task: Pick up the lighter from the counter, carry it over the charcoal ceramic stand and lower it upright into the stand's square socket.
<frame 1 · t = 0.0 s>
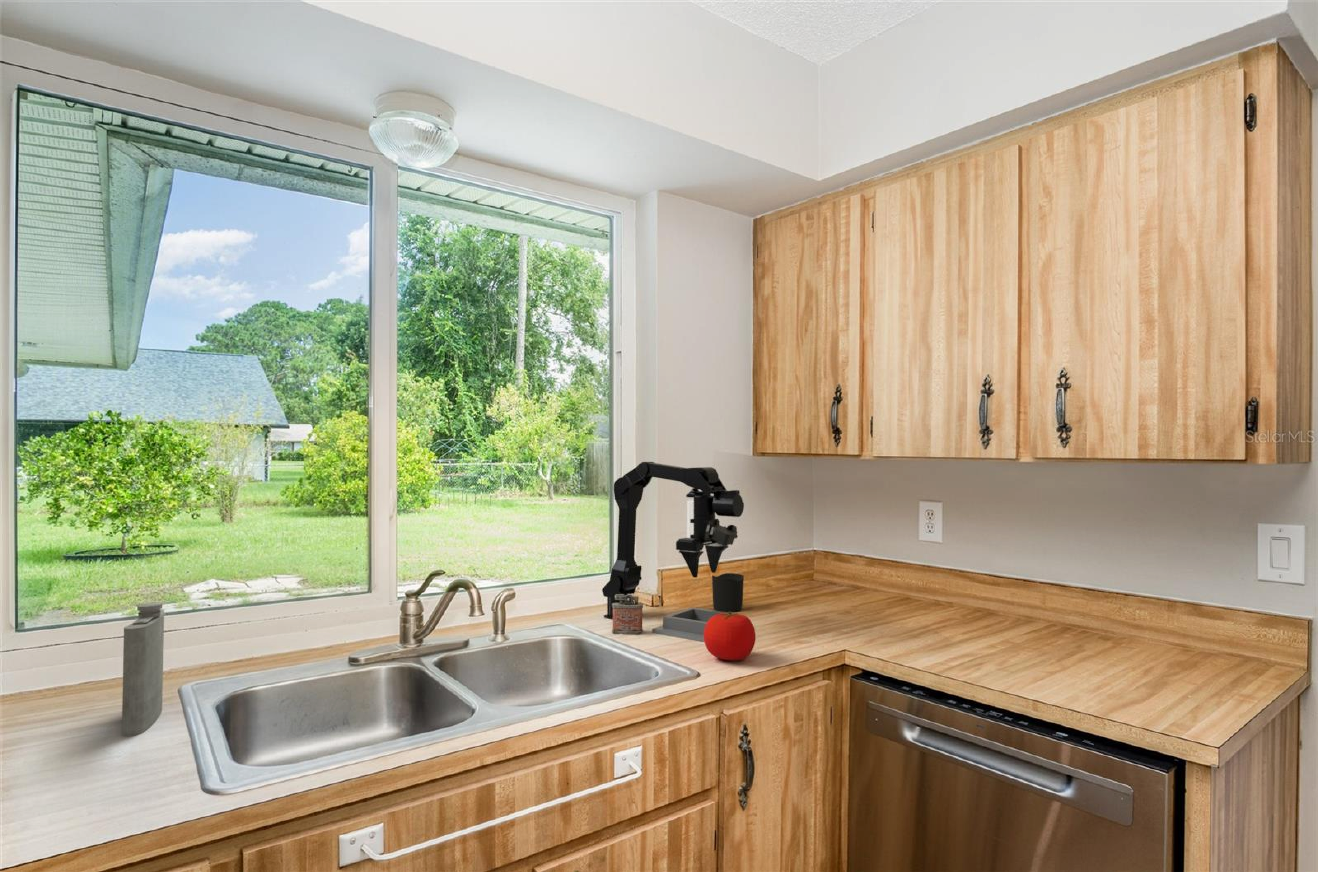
hand: (704, 574, 187), 15 cm above the worktop, tool pointing down, fingers open, 9 cm apart
tomato: (729, 659, 162), on the worktop
pen holder: (727, 609, 213), on the worktop
hip flask: (146, 720, 124), on the worktop
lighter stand: (700, 630, 187), on the worktop
lighter: (627, 633, 185), on the worktop
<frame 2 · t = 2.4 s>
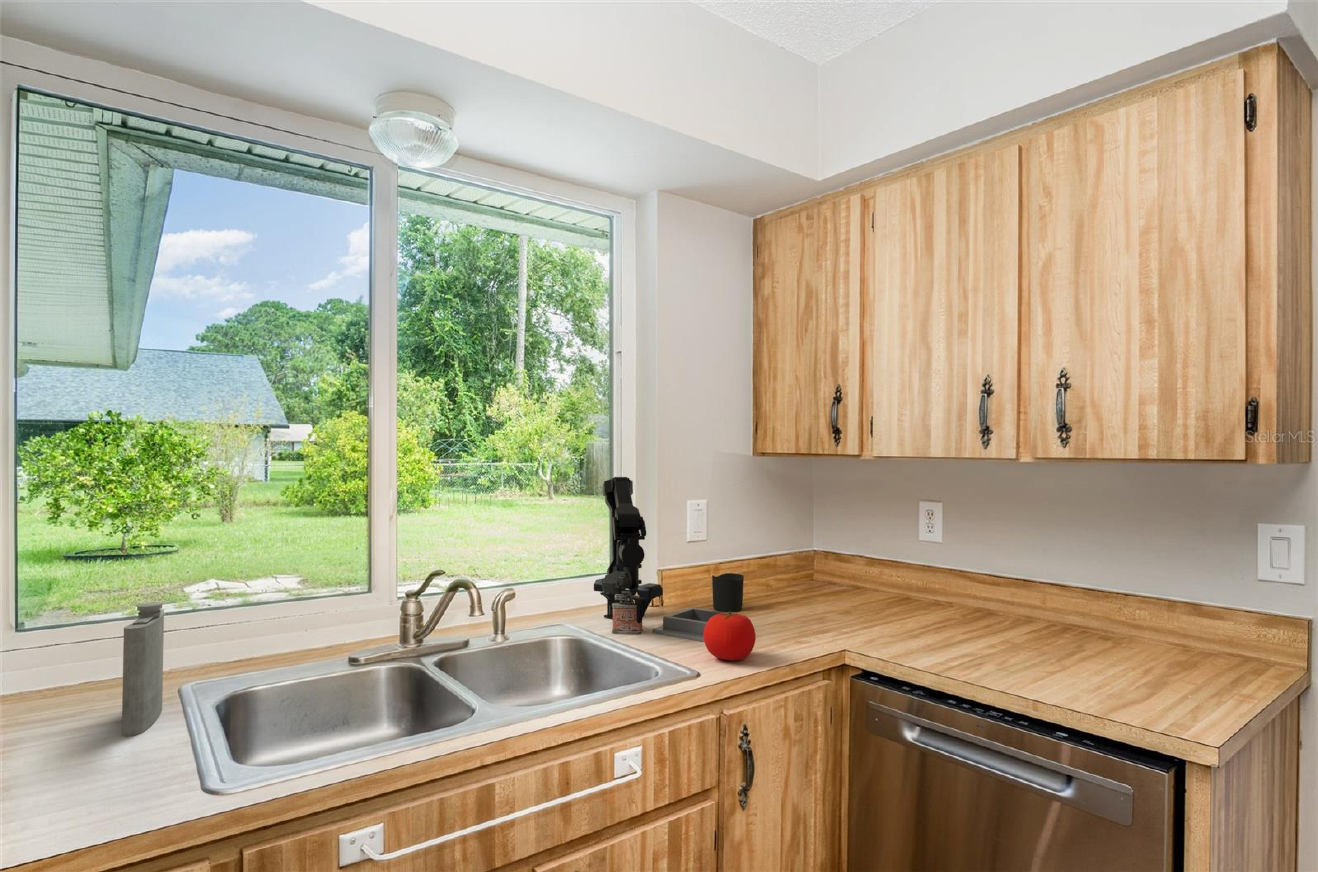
hand: (627, 621, 185), 3 cm above the worktop, tool pointing down, fingers closed on lighter, 7 cm apart
lighter: (627, 633, 185), on the worktop, touching gripper
everything else where it was.
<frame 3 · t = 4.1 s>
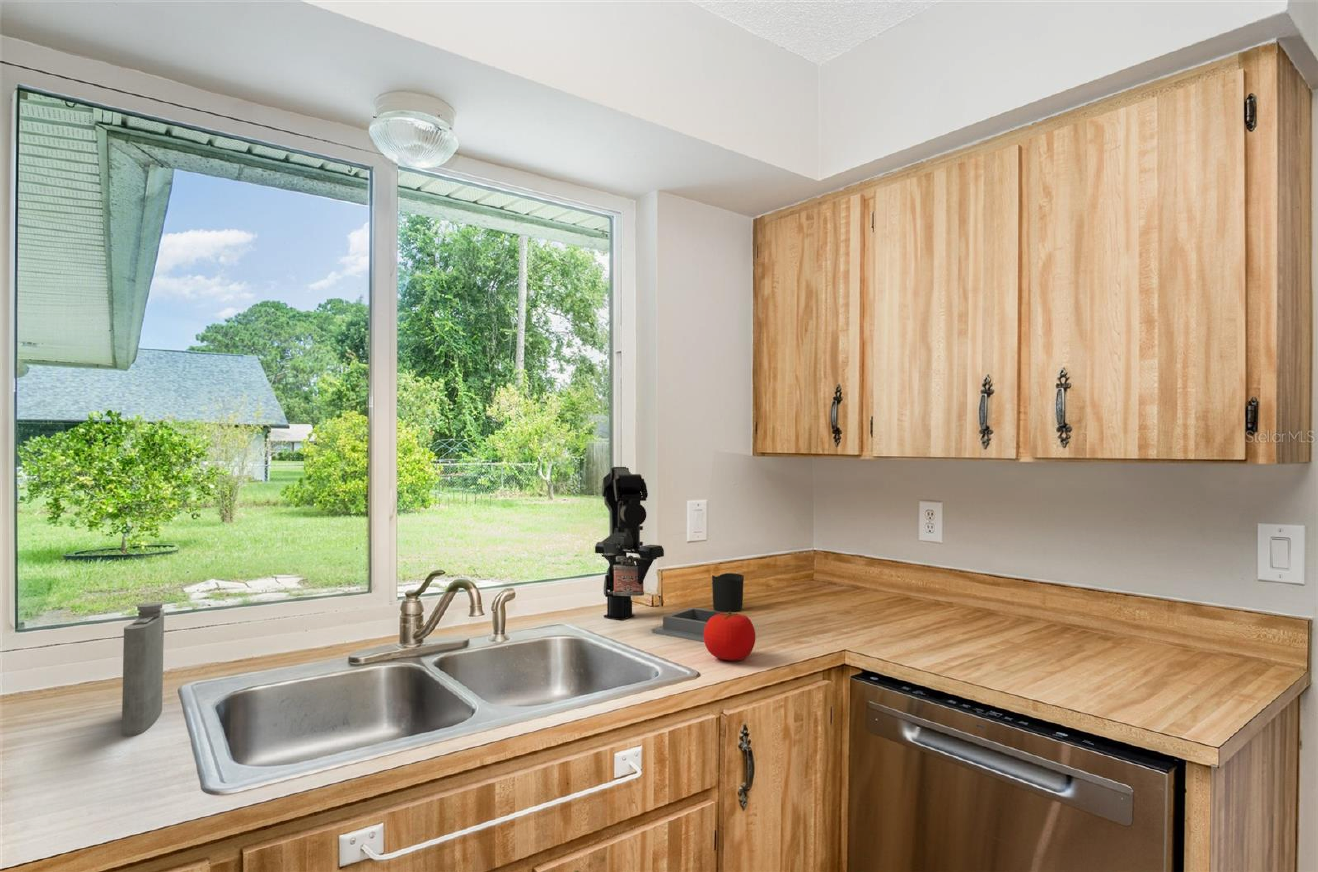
hand: (628, 582, 185), 13 cm above the worktop, tool pointing down, fingers closed on lighter, 7 cm apart
lighter: (628, 595, 185), point 10 cm above the worktop, touching gripper
everything else where it was.
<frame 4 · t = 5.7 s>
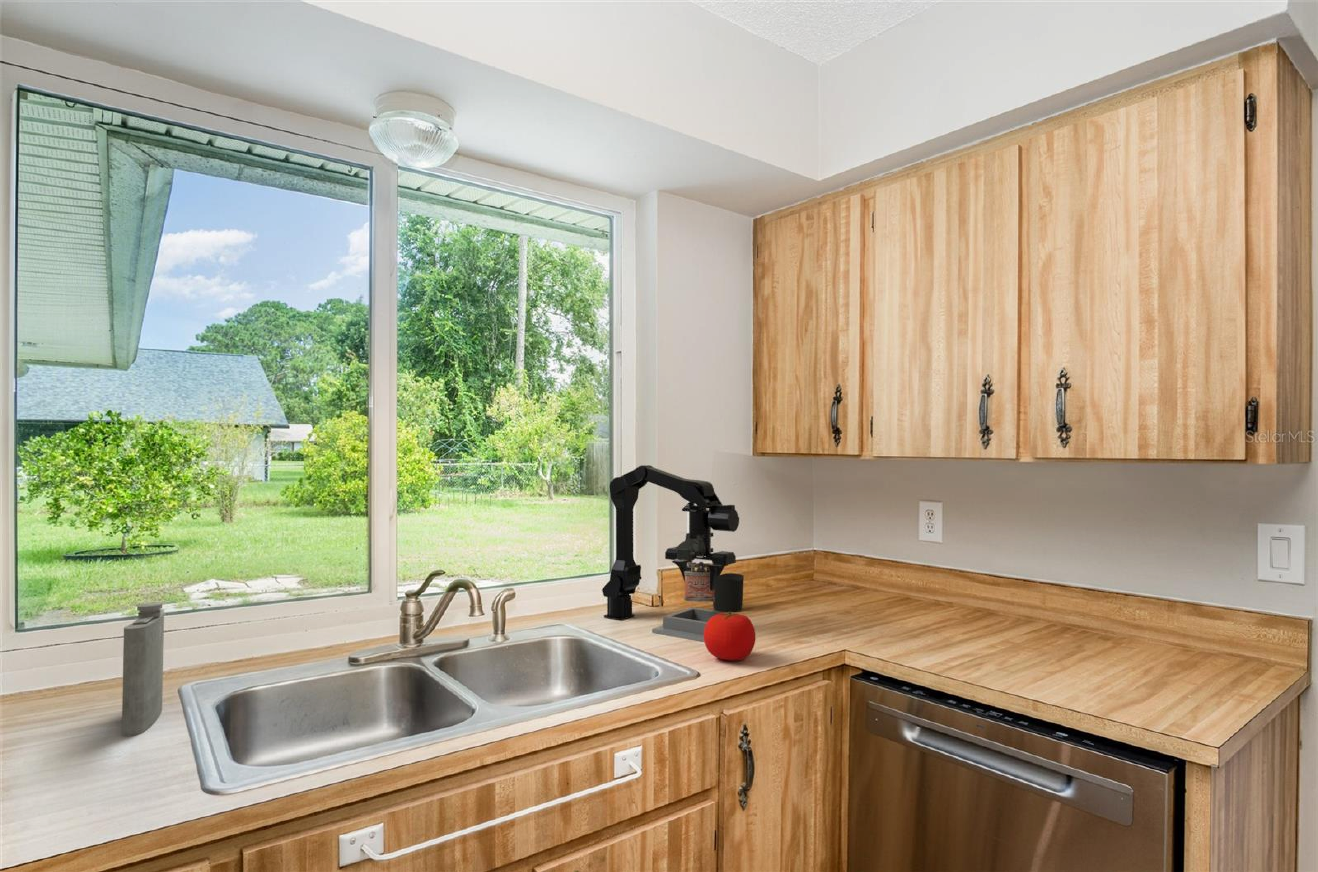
hand: (699, 588, 188), 11 cm above the worktop, tool pointing down, fingers closed on lighter, 7 cm apart
lighter: (699, 601, 188), point 8 cm above the worktop, touching gripper
everything else where it was.
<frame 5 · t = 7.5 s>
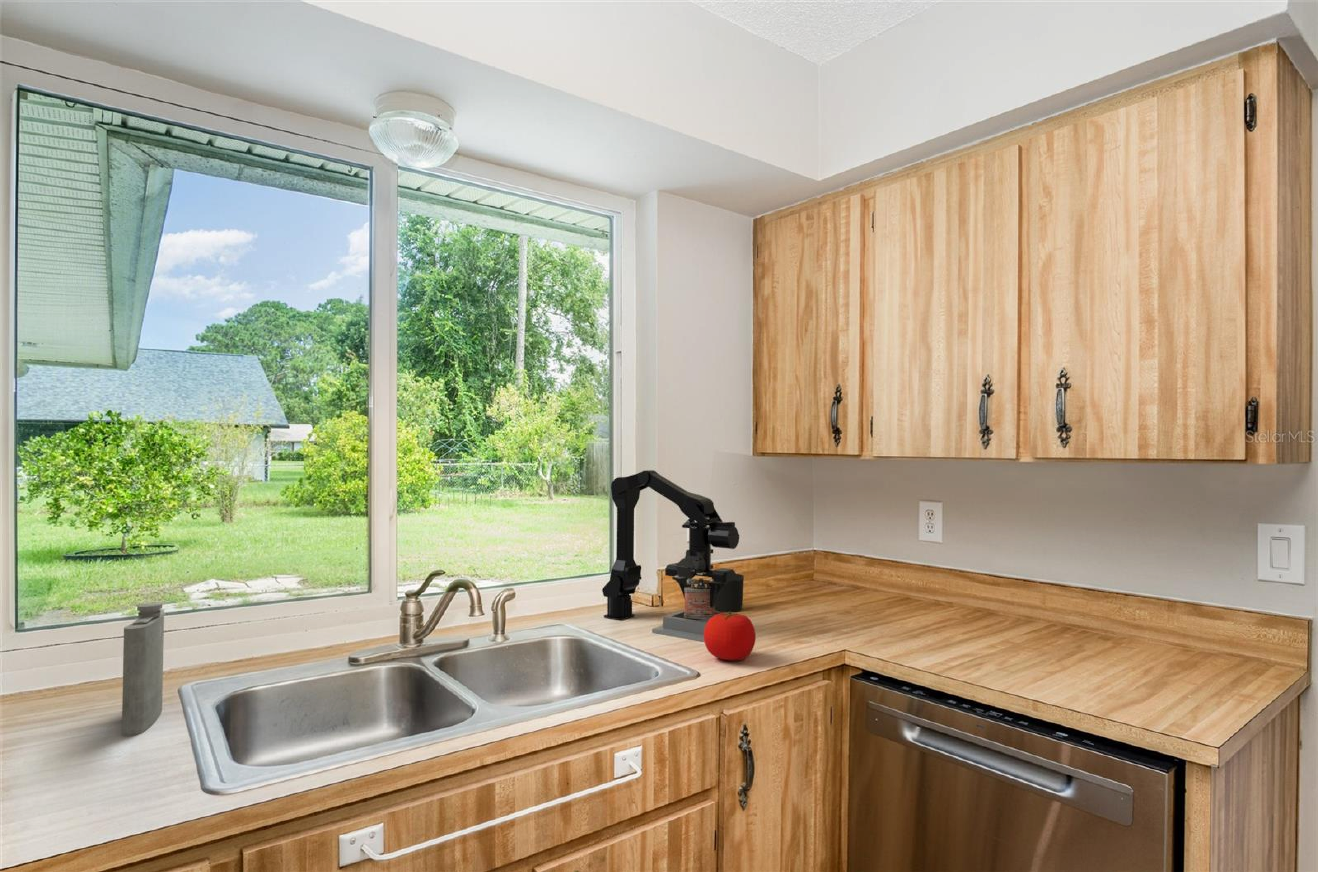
hand: (699, 605, 188), 7 cm above the worktop, tool pointing down, fingers closed on lighter, 7 cm apart
lighter: (699, 617, 187), point 3 cm above the worktop, touching gripper
everything else where it was.
when the fingers open (5 cm above the worktop, at t = 9.1 s): lighter stays where it is, resting on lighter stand.
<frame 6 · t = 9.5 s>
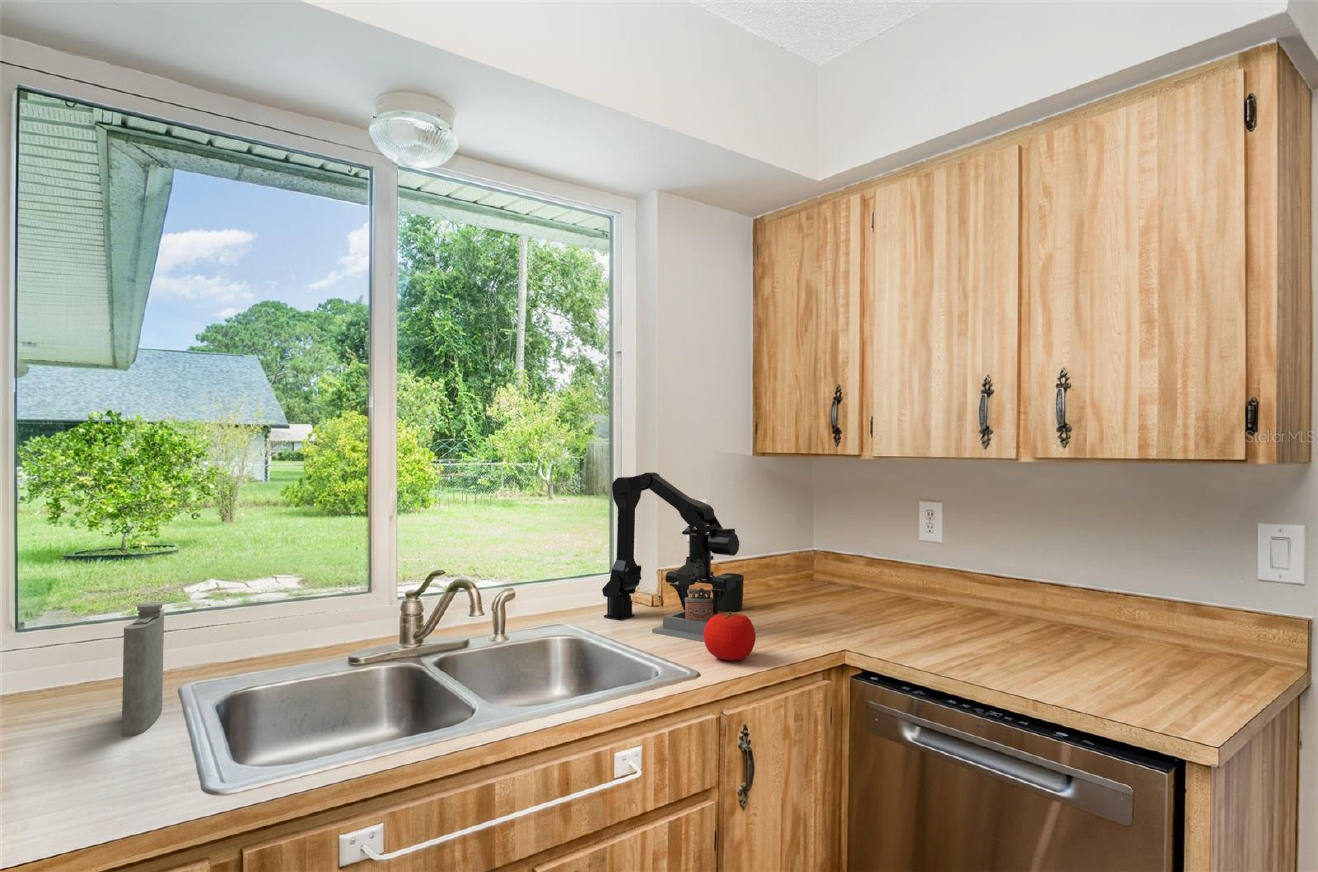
hand: (700, 612, 187), 5 cm above the worktop, tool pointing down, fingers open, 9 cm apart
lighter: (700, 627, 187), point 1 cm above the worktop, touching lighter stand
everything else where it was.
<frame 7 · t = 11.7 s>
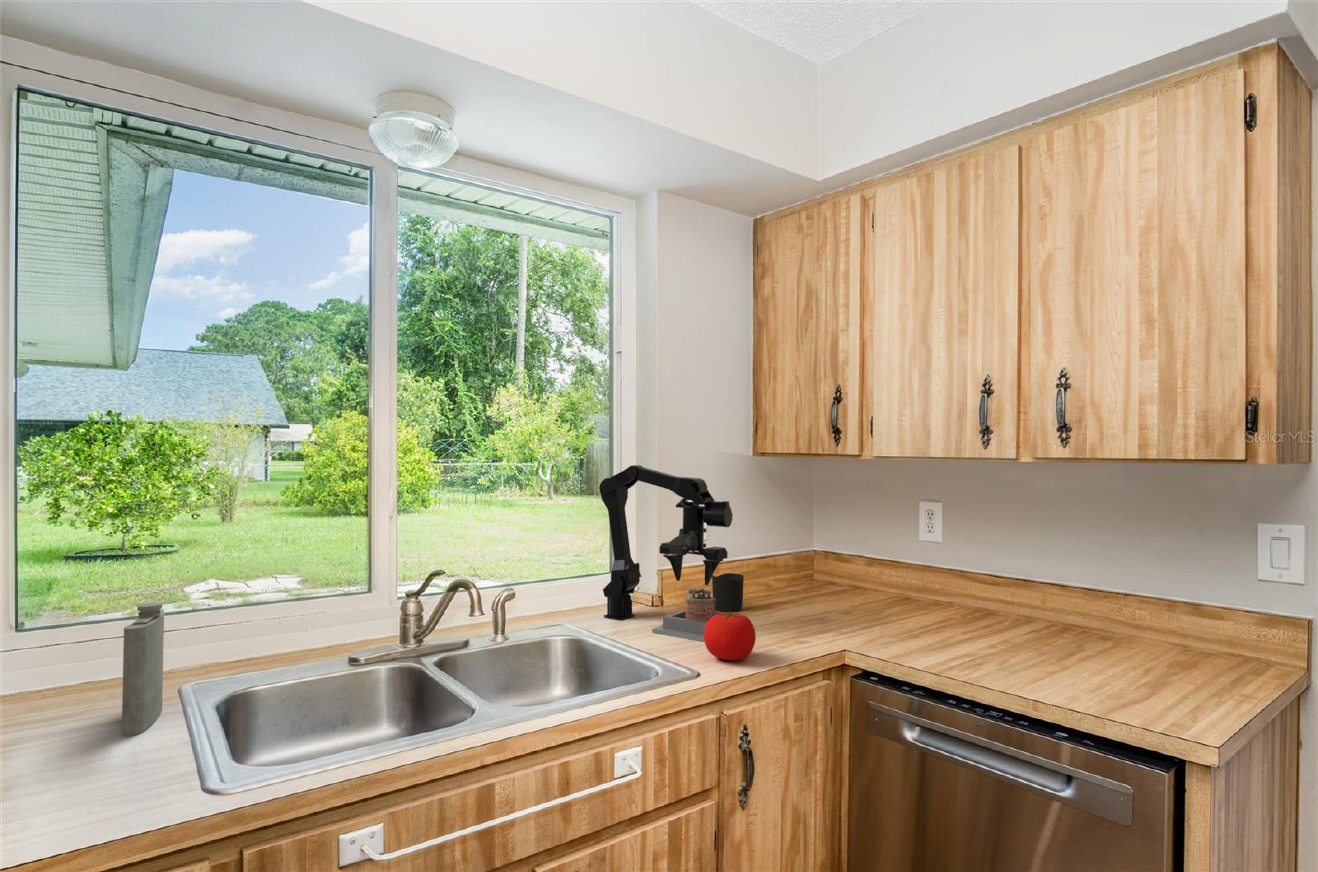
hand: (692, 582, 193), 12 cm above the worktop, tool pointing down, fingers open, 9 cm apart
nothing on the worktop moved.
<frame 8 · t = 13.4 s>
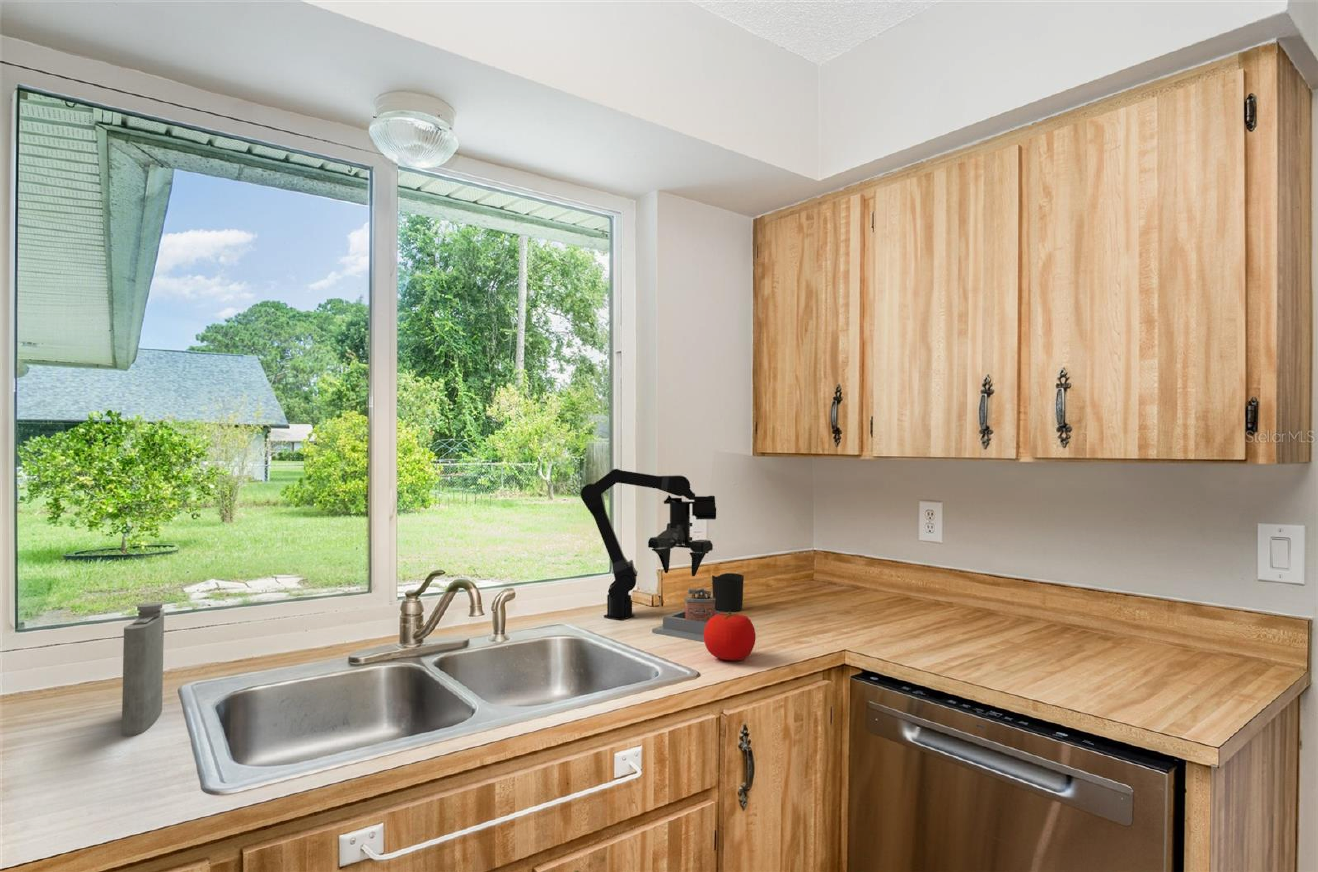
hand: (679, 574, 203), 12 cm above the worktop, tool pointing down, fingers open, 9 cm apart
nothing on the worktop moved.
at the end: lighter inside the target area on the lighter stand (0.1 cm from its centre), point 0.8 cm above the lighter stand's base; lighter tilted 0°; the gripper is holding nothing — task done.
